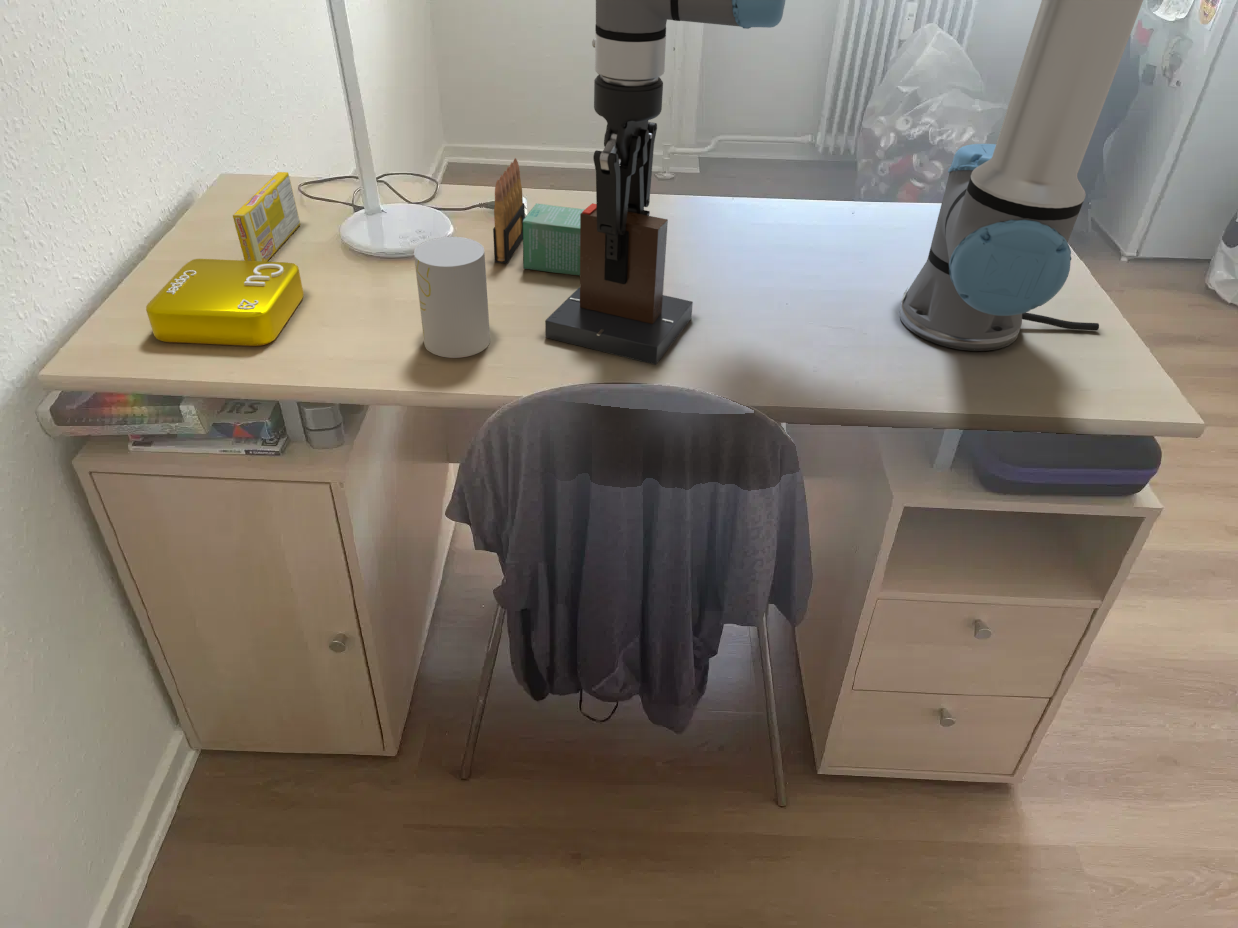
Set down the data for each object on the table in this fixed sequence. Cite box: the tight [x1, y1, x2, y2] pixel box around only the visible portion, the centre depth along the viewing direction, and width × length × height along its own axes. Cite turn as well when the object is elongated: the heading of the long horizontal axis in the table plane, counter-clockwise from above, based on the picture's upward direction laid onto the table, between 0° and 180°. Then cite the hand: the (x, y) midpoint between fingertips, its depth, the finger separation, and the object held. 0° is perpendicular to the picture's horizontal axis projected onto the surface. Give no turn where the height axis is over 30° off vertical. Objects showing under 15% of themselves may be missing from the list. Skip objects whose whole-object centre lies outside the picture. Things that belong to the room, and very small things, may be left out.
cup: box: [413, 236, 491, 359], centre depth 111 cm, size 8×8×12 cm
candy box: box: [232, 171, 301, 262], centre depth 132 cm, size 16×2×8 cm, turn 175°
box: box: [522, 202, 586, 277], centre depth 131 cm, size 7×14×8 cm, turn 79°
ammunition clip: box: [492, 157, 526, 264], centre depth 133 cm, size 11×2×12 cm, turn 170°
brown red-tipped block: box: [579, 203, 669, 324], centre depth 113 cm, size 10×3×13 cm, turn 67°
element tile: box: [145, 258, 305, 347], centre depth 117 cm, size 15×15×5 cm
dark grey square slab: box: [544, 286, 694, 366], centre depth 118 cm, size 15×14×3 cm
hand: (621, 274), depth 114 cm, fingers closed on brown red-tipped block, 3 cm apart
